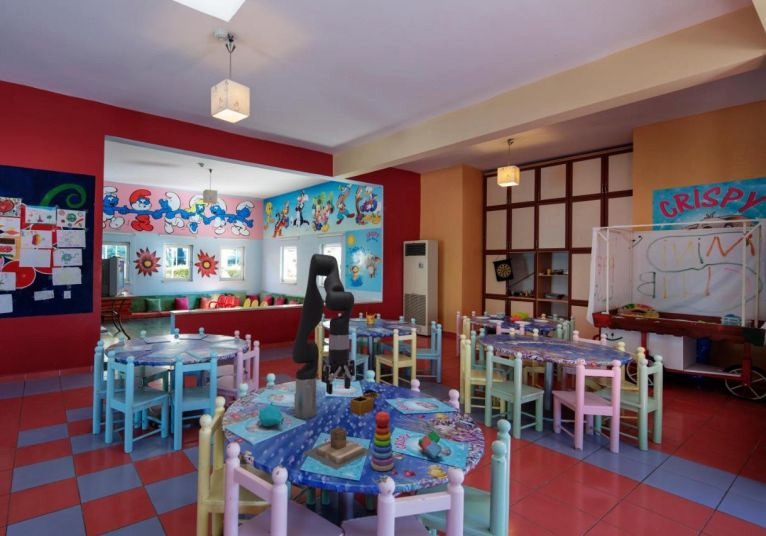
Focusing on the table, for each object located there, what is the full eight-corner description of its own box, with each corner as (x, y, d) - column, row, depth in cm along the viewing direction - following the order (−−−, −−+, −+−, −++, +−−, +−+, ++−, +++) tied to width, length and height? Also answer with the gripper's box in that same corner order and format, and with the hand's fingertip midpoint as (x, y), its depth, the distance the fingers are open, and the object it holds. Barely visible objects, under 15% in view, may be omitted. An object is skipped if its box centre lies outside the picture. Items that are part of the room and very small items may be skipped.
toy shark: (269, 418, 183) (269, 394, 182) (294, 429, 171) (294, 403, 171) (249, 424, 175) (249, 399, 175) (274, 436, 163) (274, 409, 163)
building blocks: (432, 463, 152) (434, 457, 142) (417, 446, 156) (417, 439, 146) (447, 448, 155) (449, 441, 145) (431, 431, 159) (433, 423, 149)
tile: (316, 447, 147) (339, 458, 140) (341, 437, 156) (363, 447, 149) (316, 453, 147) (339, 464, 140) (341, 443, 156) (363, 452, 149)
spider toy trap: (381, 407, 198) (381, 388, 198) (360, 415, 187) (360, 395, 187) (371, 404, 203) (371, 385, 202) (350, 412, 191) (350, 392, 191)
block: (330, 446, 149) (330, 430, 149) (338, 443, 152) (338, 426, 152) (338, 450, 146) (338, 433, 146) (346, 446, 149) (346, 429, 149)
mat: (302, 454, 148) (302, 452, 148) (339, 438, 161) (339, 437, 161) (336, 471, 136) (336, 469, 136) (373, 453, 150) (373, 451, 150)
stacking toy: (370, 461, 144) (370, 407, 143) (392, 460, 144) (393, 407, 144) (371, 472, 136) (372, 416, 136) (395, 471, 136) (396, 415, 136)
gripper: (346, 342, 156) (345, 384, 156) (317, 347, 146) (316, 393, 146) (360, 345, 151) (359, 389, 151) (331, 351, 141) (330, 398, 141)
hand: (338, 391), depth 149 cm, fingers open, 8 cm apart
